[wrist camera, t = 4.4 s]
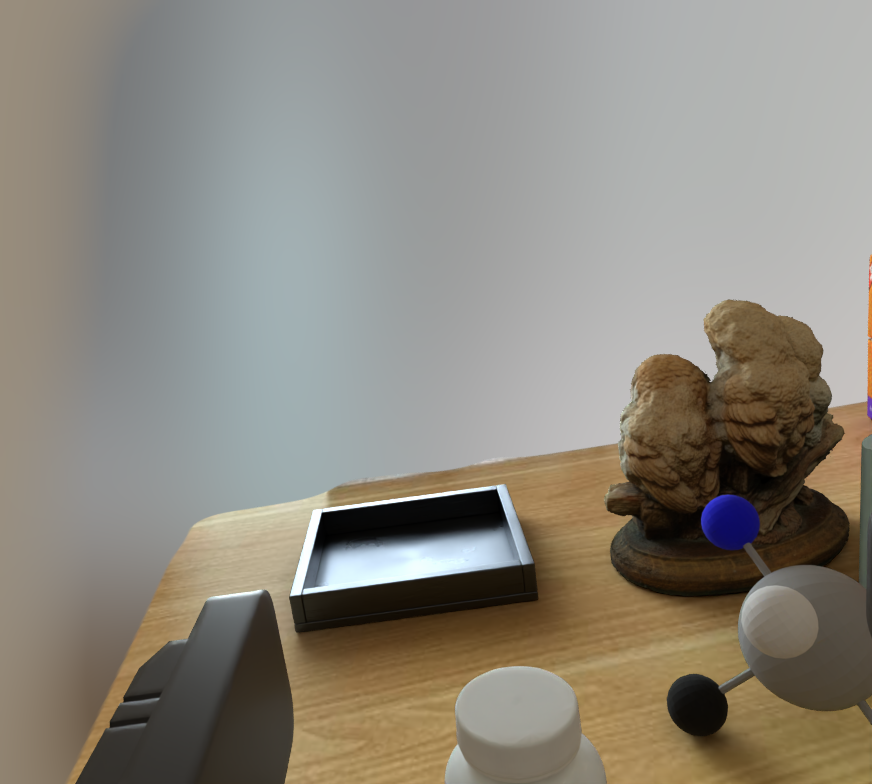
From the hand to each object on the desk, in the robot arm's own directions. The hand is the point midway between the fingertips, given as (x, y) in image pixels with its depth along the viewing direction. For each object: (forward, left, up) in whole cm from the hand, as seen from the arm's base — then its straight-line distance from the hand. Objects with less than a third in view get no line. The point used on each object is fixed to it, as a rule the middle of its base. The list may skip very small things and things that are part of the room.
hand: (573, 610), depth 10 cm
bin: (-4, +41, -20) cm, 46 cm away
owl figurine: (+18, +38, -20) cm, 47 cm away
